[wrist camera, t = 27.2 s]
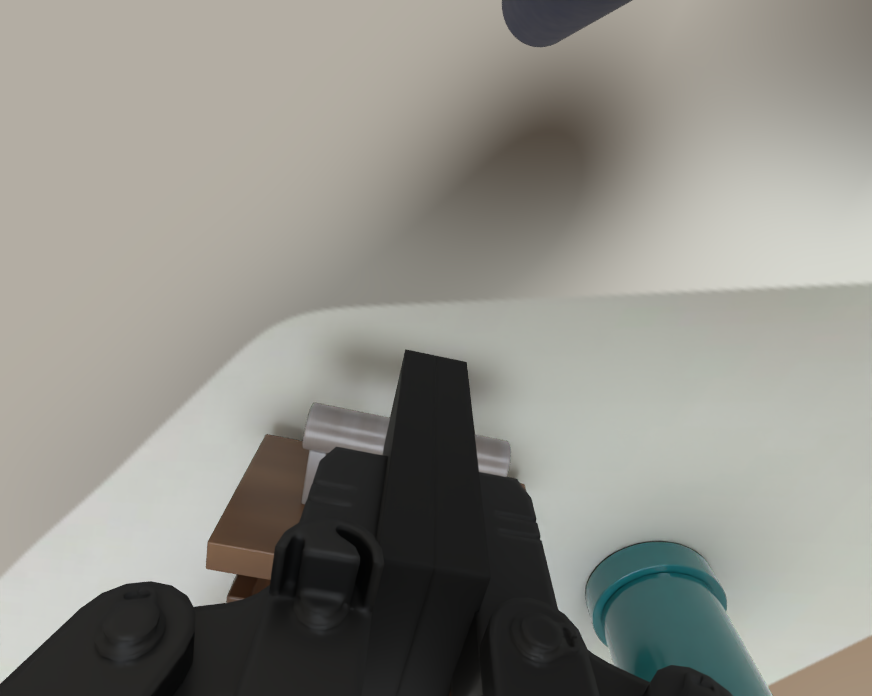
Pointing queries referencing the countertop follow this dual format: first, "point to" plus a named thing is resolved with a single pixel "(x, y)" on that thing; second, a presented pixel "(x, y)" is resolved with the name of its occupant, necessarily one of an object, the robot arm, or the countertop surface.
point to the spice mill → (669, 617)
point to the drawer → (299, 490)
